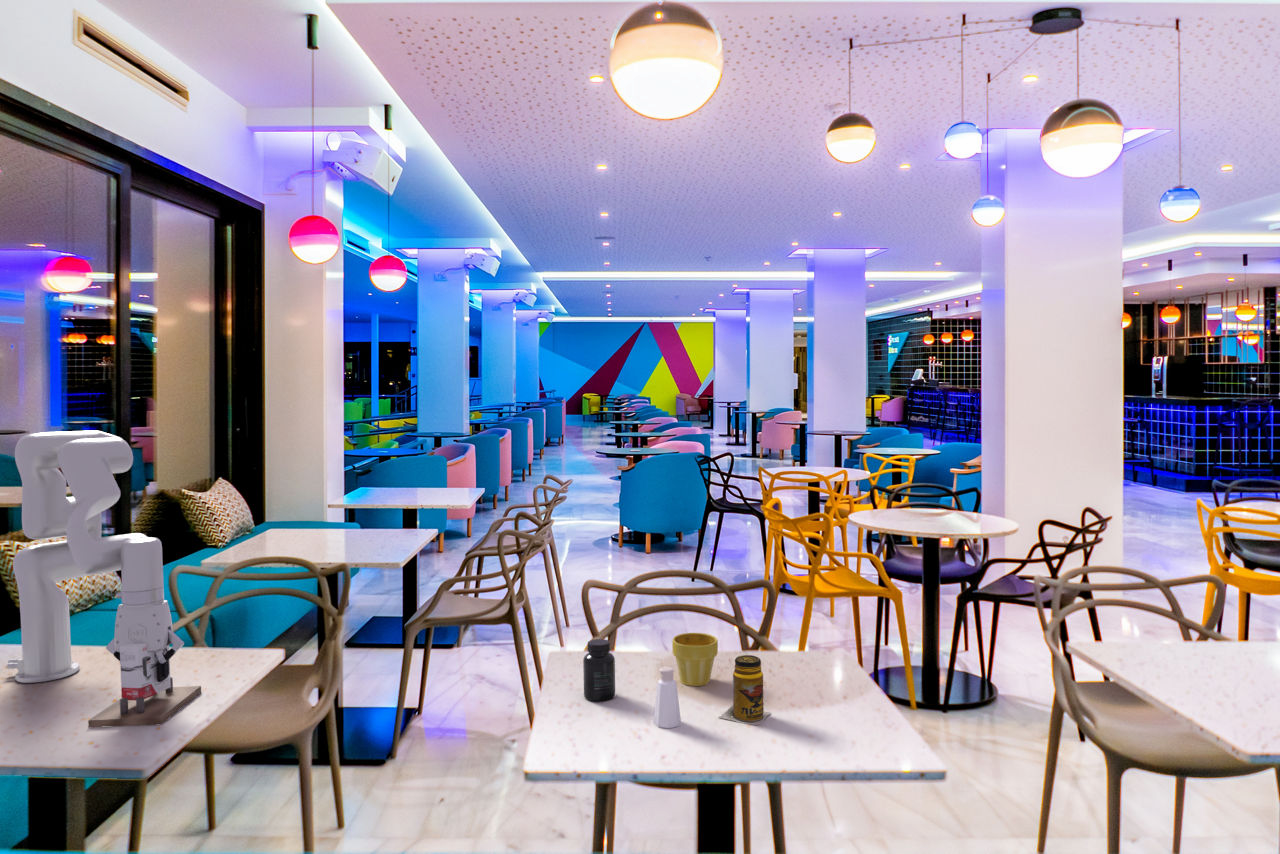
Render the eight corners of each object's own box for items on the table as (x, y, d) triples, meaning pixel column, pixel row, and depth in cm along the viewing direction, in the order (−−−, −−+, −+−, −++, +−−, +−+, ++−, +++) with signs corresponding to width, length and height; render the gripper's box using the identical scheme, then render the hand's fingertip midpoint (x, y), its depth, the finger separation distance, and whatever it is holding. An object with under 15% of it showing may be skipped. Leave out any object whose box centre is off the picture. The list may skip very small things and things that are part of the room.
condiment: (757, 726, 162) (757, 666, 161) (718, 718, 166) (717, 659, 165) (770, 713, 168) (770, 655, 167) (732, 706, 172) (731, 649, 172)
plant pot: (726, 685, 184) (725, 642, 184) (684, 692, 181) (683, 648, 180) (705, 671, 194) (705, 630, 194) (665, 677, 190) (664, 635, 190)
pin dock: (88, 727, 166) (87, 705, 165) (136, 695, 184) (135, 675, 183) (160, 724, 167) (160, 702, 167) (201, 692, 185) (200, 672, 184)
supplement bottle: (583, 691, 182) (582, 637, 181) (614, 690, 182) (613, 636, 182) (583, 703, 175) (582, 647, 174) (616, 701, 175) (615, 646, 175)
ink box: (140, 701, 170) (138, 645, 170) (120, 700, 171) (118, 644, 171) (172, 687, 179) (170, 633, 178) (152, 685, 180) (150, 632, 179)
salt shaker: (679, 717, 166) (679, 663, 166) (682, 728, 161) (681, 672, 161) (653, 718, 166) (652, 664, 166) (654, 729, 161) (653, 673, 160)
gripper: (90, 602, 170) (93, 688, 171) (177, 599, 171) (180, 685, 172) (110, 593, 177) (114, 676, 178) (193, 590, 179) (196, 673, 179)
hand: (146, 679), depth 175 cm, fingers closed on ink box, 5 cm apart
